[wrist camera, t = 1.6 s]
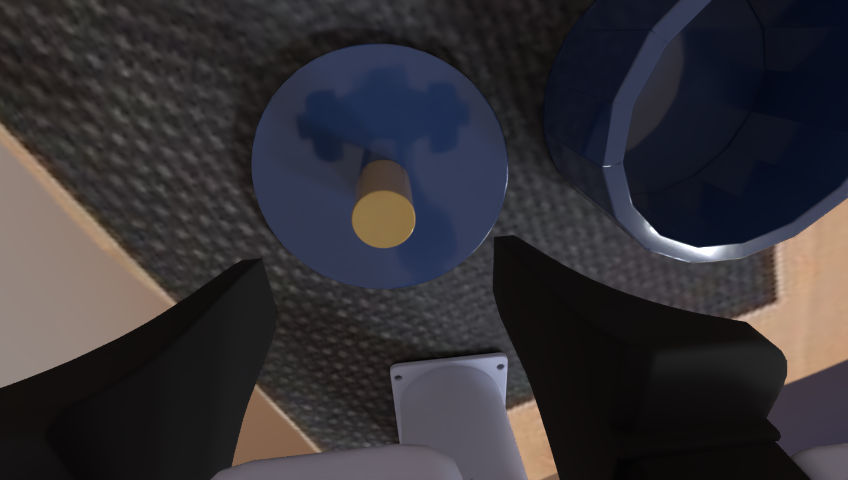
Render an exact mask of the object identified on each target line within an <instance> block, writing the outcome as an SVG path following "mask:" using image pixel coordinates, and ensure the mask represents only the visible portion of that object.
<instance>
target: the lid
mask: <svg viewBox="0 0 848 480" xmlns="http://www.w3.org/2000/svg"><path fill="white" fill-rule="evenodd" d="M251 169H252V181H253V186H254V191H255V195H256V198H257V201H258V204H259V207H260V210H261V212H262V214H263V216H264V218H265V220H266V222H267V224H268V225H269V227H270V228H271V230H272V231H273V233H274V234H275V236H276V237H277V239H278V240H279V241H280V242H281V243H282V244H283V245H284V247H285V248H286V249H287V250H288V251H289V252H290V253H291V254H293V255H294V256H295V257H296V258H297V259H298V260H299V261H301V262H302V263H304V264H305V265H307V266H308V267H309V268H311V269H313V270H314V271H316V272H318V273H320V274H322V275H323V276H326V277H328V278H331V279H333V280H335V281H338V282H341V283H345V284H348V285H352V286H357V287H363V288H372V289H394V288H402V287H408V286H413V285H416V284H420V283H424V282H426V281H429V280H432V279H434V278H437V277H439V276H441V275H442V274H444V273H446V272H448V271H450V270H451V269H453V268H454V267H456V266H457V265H459V264H460V263H462V262H463V261H464V260H465V259H466V258H468V257H469V256H470V255H471V254H472V253H473V252H474V251H475V250H476V249H477V248H478V247H479V246H480V244H481V243H482V242H483V241H484V239H485V238H486V237H487V235H488V234H489V232H490V231H491V229H492V227H493V225H494V224H495V222H496V220H497V218H498V216H499V213H500V210H501V208H502V205H503V202H504V198H505V194H506V190H507V182H508V154H507V148H506V142H505V138H504V135H503V132H502V129H501V126H500V123H499V121H498V119H497V117H496V115H495V113H494V110H493V109H492V107H491V106H490V104H489V103H488V101H487V100H486V98H485V96H484V95H483V94H482V93H481V92H480V91H479V89H478V88H477V87H476V86H475V85H474V84H473V82H471V81H470V80H469V79H468V78H467V77H466V76H465V75H463V74H462V73H461V72H460V71H459V70H457V69H456V68H454V67H453V66H451V65H450V64H448V63H447V62H445V61H444V60H442V59H440V58H438V57H436V56H433V55H431V54H429V53H427V52H425V51H422V50H418V49H415V48H412V47H408V46H404V45H397V44H390V43H365V44H358V45H351V46H347V47H343V48H340V49H337V50H333V51H330V52H328V53H326V54H324V55H322V56H320V57H318V58H315V59H313V60H312V61H310V62H309V63H307V64H306V65H304V66H303V67H301V68H300V69H298V70H297V71H296V72H295V73H293V74H292V75H291V76H290V77H289V78H288V79H287V80H286V81H285V82H284V83H283V84H282V85H281V86H280V87H279V89H278V90H277V91H276V92H275V94H274V95H273V96H272V98H271V99H270V101H269V103H268V104H267V106H266V108H265V110H264V111H263V113H262V116H261V118H260V121H259V123H258V126H257V128H256V133H255V137H254V141H253V145H252V158H251Z"/></svg>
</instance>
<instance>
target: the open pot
mask: <svg viewBox="0 0 848 480" xmlns="http://www.w3.org/2000/svg"><path fill="white" fill-rule="evenodd" d="M543 129H544V137H545V141H546V145H547V149H548V151H549V154H550V156H551V159H552V161H553V163H554V164H555V166H556V168H557V170H558V172H559V173H560V174H561V175H562V176H563V177H564V178H565V180H566V181H567V182H568V183H570V184H571V185H572V186H573V187H574V188H575V189H576V190H577V191H578V192H579V193H580V194H581V195H582V196H583V197H584V198H585V199H586V200H587V201H589V202H590V203H591V204H592V205H593V206H595V207H596V208H597V209H598V210H599V211H600V212H602V213H603V214H604V215H605V216H606V217H608V218H609V219H610V220H611V221H612V222H614V223H615V224H616V225H617V226H618V227H619V228H621V229H622V230H623V231H624V232H625V233H627V234H628V235H629V236H630V237H631V238H632V239H634V240H635V241H636V242H637V243H638V244H640V245H641V246H642V247H643V248H644V249H646V250H648V251H651V252H655V253H658V254H661V255H664V256H668V257H671V258H674V259H678V260H681V261H684V262H688V263H701V262H711V261H721V260H731V259H741V258H744V257H746V256H749V255H751V254H753V253H756V252H758V251H761V250H763V249H766V248H768V247H770V246H773V245H775V244H778V243H780V242H783V241H785V240H787V239H790V238H792V237H795V236H796V235H798V234H799V233H801V232H802V231H803V230H805V229H806V228H807V227H809V226H810V225H812V224H813V223H814V222H816V221H817V220H818V219H820V218H821V217H822V216H824V215H825V214H827V213H828V212H829V211H831V210H832V209H833V208H835V207H836V206H838V205H839V204H840V203H842V202H843V201H844V200H846V199H847V198H848V0H595V1H594V2H593V3H592V4H591V5H590V6H589V7H588V8H587V9H586V11H585V12H584V13H583V14H582V16H581V17H580V18H579V19H578V20H577V22H576V23H575V24H574V26H573V27H572V29H571V30H570V32H569V33H568V35H567V36H566V38H565V40H564V42H563V44H562V45H561V47H560V49H559V51H558V53H557V55H556V58H555V60H554V63H553V65H552V68H551V70H550V73H549V77H548V81H547V85H546V88H545V95H544V102H543Z"/></svg>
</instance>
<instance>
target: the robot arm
mask: <svg viewBox="0 0 848 480" xmlns="http://www.w3.org/2000/svg"><path fill="white" fill-rule="evenodd" d="M493 293H494V297H495V300H496V304H497V307H498V311H499V314H500V317H501V319H502V322H503V324H504V326H505V328H506V331H507V333H508V335H509V337H510V339H511V342H512V344H513V346H514V348H515V350H516V353H517V355H518V357H519V359H520V361H521V364H522V366H523V368H524V370H525V372H526V375H527V377H528V380H529V382H530V385H531V387H532V391H533V394H534V397H535V400H536V403H537V406H538V409H539V412H540V415H541V418H542V421H543V425H544V428H545V431H546V434H547V438H548V441H549V444H550V447H551V451H552V454H553V458H554V461H555V465H556V468H557V472H558V475H559V478H560V480H848V443H846V444H838V445H830V446H822V447H814V448H808V449H804V450H800V451H799V452H797V453H795V454H793V455H792V456H791V457H789V456H788V455H787V454H786V453H785V452H784V450H783V449H781V447H780V446H779V445H778V444H777V443H776V442H775V441H779V439H780V438H781V435H780V432H779V431H778V430H777V429H776V428H775V427H774V426H773V425H772V424H771V423H770V422H769V421H768V420H767V419H766V418H767V416H768V414H769V412H770V410H771V408H772V406H773V404H774V402H775V401H776V399H777V397H778V395H779V393H780V391H781V389H782V387H783V385H784V382H785V379H786V376H787V360H786V358H785V356H784V354H783V353H782V351H781V350H780V349H779V348H777V347H776V346H775V345H774V344H773V343H771V342H770V341H769V340H768V339H766V338H765V337H764V336H763V335H762V334H760V333H759V332H758V331H757V330H756V329H754V328H753V327H752V326H751V325H749V324H748V323H747V322H743V321H738V320H732V319H727V318H721V317H716V316H710V315H705V314H699V313H695V312H690V311H686V310H682V309H678V308H674V307H670V306H666V305H662V304H659V303H655V302H652V301H648V300H645V299H642V298H639V297H636V296H633V295H630V294H627V293H624V292H622V291H619V290H616V289H614V288H611V287H609V286H606V285H604V284H602V283H599V282H597V281H594V280H592V279H590V278H588V277H586V276H584V275H582V274H580V273H578V272H576V271H574V270H572V269H570V268H568V267H566V266H565V265H563V264H561V263H559V262H557V261H556V260H554V259H552V258H551V257H549V256H547V255H546V254H544V253H542V252H541V251H539V250H538V249H536V248H534V247H533V246H531V245H530V244H528V243H526V242H525V241H523V240H521V239H520V238H518V237H516V236H514V235H511V236H500V237H494V266H493ZM277 313H278V311H277V308H276V304H275V301H274V297H273V294H272V291H271V287H270V284H269V280H268V277H267V273H266V270H265V267H264V263H263V260H262V259H251V260H242V261H240V262H238V263H236V264H234V265H233V266H231V267H230V268H228V269H227V270H225V271H224V272H222V273H221V274H220V275H218V276H217V277H215V278H214V279H213V280H211V281H210V282H208V283H207V284H205V285H204V286H203V287H201V288H200V289H198V290H197V291H195V292H194V293H193V294H191V295H190V296H188V297H187V298H185V299H184V300H182V301H180V302H179V303H177V304H176V305H174V306H173V307H171V308H170V309H168V310H167V311H165V312H164V313H162V314H161V315H159V316H157V317H156V318H154V319H152V320H150V321H149V322H147V323H145V324H144V325H142V326H140V327H138V328H137V329H134V330H133V331H131V332H129V333H127V334H125V335H124V336H122V337H120V338H118V339H116V340H114V341H112V342H109V343H107V344H105V345H103V346H101V347H99V348H97V349H95V350H93V351H91V352H88V353H86V354H84V355H82V356H80V357H78V358H76V359H73V360H71V361H69V362H66V363H64V364H61V365H59V366H57V367H54V368H52V369H50V370H47V371H45V372H42V373H39V374H37V375H34V376H32V377H29V378H27V379H24V380H21V381H19V382H16V383H13V384H11V385H8V386H5V387H2V388H0V480H528V478H527V475H526V472H525V468H524V465H523V462H522V459H521V456H520V453H519V450H518V446H517V443H516V440H515V437H514V434H513V431H512V427H511V424H510V421H509V418H508V415H507V412H506V409H505V397H506V380H507V363H508V360H507V356H506V355H505V353H501V352H499V353H490V354H480V355H471V356H462V357H452V358H443V359H434V360H424V361H415V362H406V363H397V364H394V365H392V366H391V367H390V375H391V382H392V390H393V397H394V405H395V412H396V419H397V427H398V434H399V442H400V444H389V445H381V446H372V447H364V448H355V449H347V450H338V451H330V452H321V453H313V454H304V455H296V456H287V457H279V458H270V459H261V460H253V461H250V462H246V463H244V464H240V465H236V466H233V467H231V466H232V462H233V457H234V453H235V449H236V445H237V441H238V437H239V433H240V429H241V425H242V421H243V418H244V415H245V412H246V408H247V405H248V402H249V400H250V397H251V394H252V392H253V389H254V387H255V384H256V381H257V379H258V376H259V374H260V371H261V368H262V366H263V363H264V360H265V358H266V355H267V352H268V349H269V347H270V344H271V341H272V337H273V333H274V328H275V323H276V318H277ZM499 364H501V365H499ZM397 375H400V376H397Z"/></svg>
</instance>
